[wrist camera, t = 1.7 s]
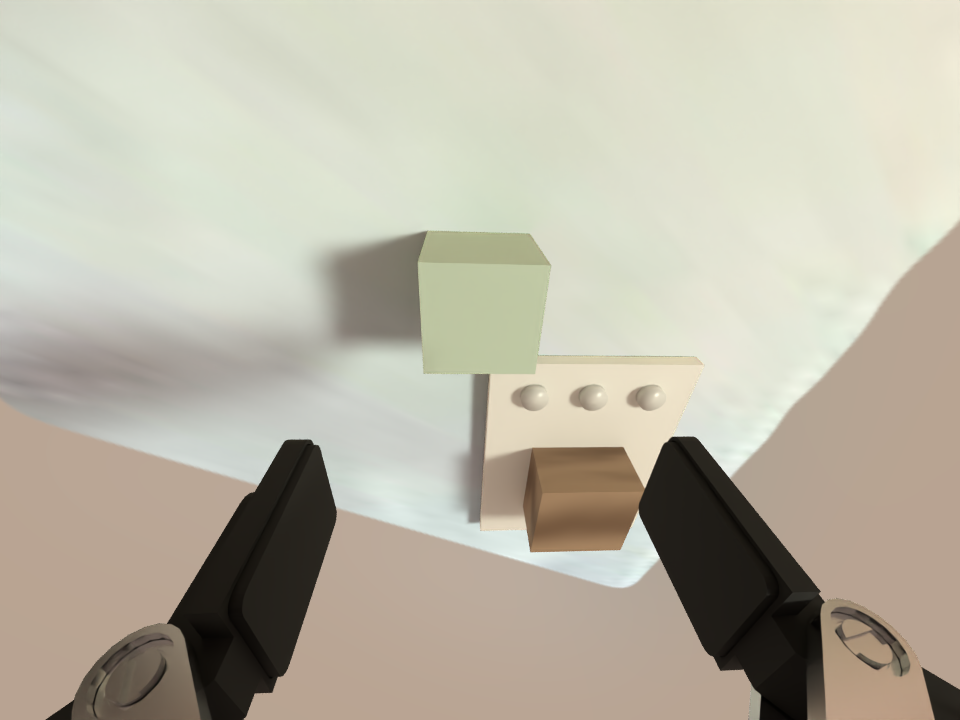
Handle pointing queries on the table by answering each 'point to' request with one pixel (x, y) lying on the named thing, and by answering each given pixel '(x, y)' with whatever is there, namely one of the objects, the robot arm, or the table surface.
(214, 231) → the table surface
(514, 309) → the sage block
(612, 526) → the walnut block
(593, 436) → the snap baseplate
